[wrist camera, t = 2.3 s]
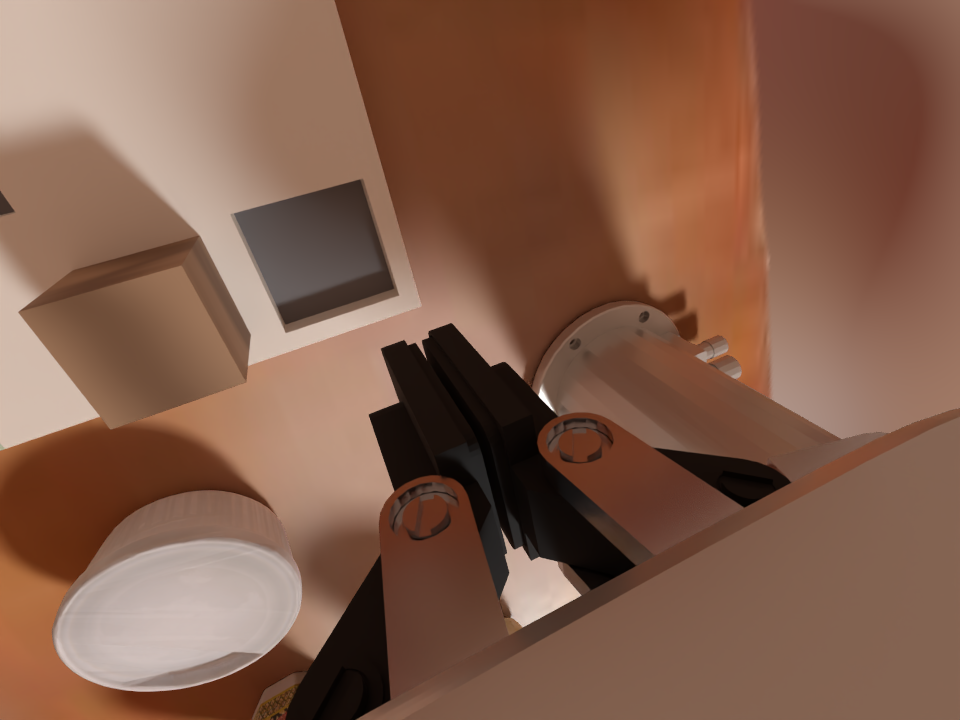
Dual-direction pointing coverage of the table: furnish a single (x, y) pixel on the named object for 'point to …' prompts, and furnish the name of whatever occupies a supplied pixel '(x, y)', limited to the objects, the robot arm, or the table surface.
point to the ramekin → (181, 595)
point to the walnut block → (144, 331)
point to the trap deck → (187, 172)
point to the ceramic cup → (278, 697)
